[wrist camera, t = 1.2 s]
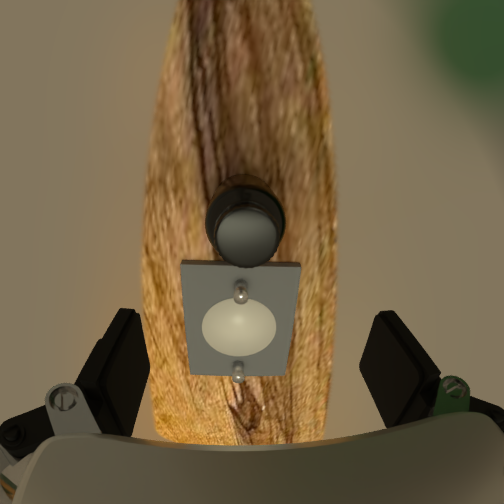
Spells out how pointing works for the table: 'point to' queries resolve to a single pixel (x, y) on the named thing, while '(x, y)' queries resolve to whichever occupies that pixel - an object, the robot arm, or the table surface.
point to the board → (239, 317)
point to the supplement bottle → (245, 221)
